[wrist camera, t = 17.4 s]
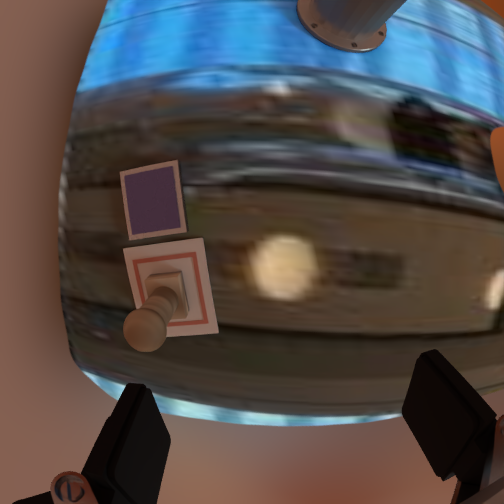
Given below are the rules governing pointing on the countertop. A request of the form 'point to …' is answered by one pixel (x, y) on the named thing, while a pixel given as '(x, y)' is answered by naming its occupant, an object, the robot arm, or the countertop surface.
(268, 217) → the countertop surface
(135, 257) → the note card
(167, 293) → the stamp
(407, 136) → the countertop surface
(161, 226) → the ink pad
